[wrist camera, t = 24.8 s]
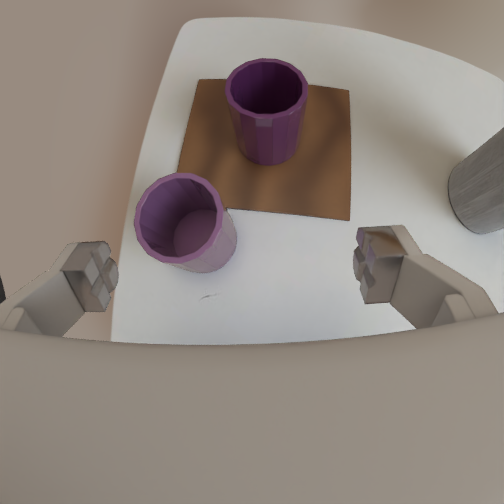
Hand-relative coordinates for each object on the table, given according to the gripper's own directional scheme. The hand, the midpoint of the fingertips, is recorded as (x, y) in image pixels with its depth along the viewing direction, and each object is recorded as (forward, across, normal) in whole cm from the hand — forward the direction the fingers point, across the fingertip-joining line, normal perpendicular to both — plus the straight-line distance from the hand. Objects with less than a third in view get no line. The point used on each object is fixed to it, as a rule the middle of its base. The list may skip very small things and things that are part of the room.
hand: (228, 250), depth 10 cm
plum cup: (+28, -2, +4) cm, 28 cm away
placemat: (+28, -2, +5) cm, 29 cm away
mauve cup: (+20, +6, +13) cm, 25 cm away
